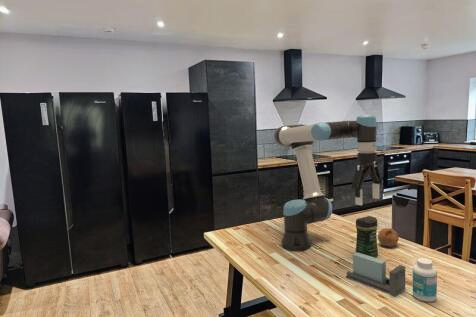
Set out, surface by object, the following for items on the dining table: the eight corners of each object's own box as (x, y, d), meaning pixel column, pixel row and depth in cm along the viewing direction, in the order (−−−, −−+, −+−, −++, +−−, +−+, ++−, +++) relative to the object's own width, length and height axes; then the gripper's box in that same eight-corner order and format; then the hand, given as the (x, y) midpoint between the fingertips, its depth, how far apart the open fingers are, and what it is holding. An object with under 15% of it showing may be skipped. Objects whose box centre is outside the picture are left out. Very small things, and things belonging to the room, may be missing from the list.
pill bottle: (408, 292, 116) (407, 257, 114) (427, 290, 116) (427, 255, 115) (421, 303, 108) (421, 266, 107) (441, 301, 109) (442, 264, 108)
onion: (391, 254, 155) (393, 240, 150) (373, 244, 162) (374, 230, 157) (401, 242, 160) (403, 228, 155) (383, 234, 166) (384, 220, 161)
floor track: (345, 277, 129) (345, 257, 128) (356, 271, 134) (356, 251, 133) (395, 296, 114) (394, 273, 113) (405, 288, 119) (405, 266, 118)
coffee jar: (366, 261, 143) (366, 221, 141) (353, 255, 150) (352, 217, 148) (381, 256, 147) (380, 217, 145) (367, 250, 154) (366, 213, 152)
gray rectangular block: (353, 275, 129) (352, 254, 128) (357, 273, 131) (357, 252, 130) (381, 286, 120) (381, 263, 119) (385, 283, 122) (385, 261, 121)
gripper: (358, 155, 122) (359, 209, 125) (390, 149, 138) (390, 197, 140) (341, 154, 128) (343, 206, 131) (373, 149, 144) (374, 194, 146)
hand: (367, 201), depth 135 cm, fingers open, 13 cm apart
